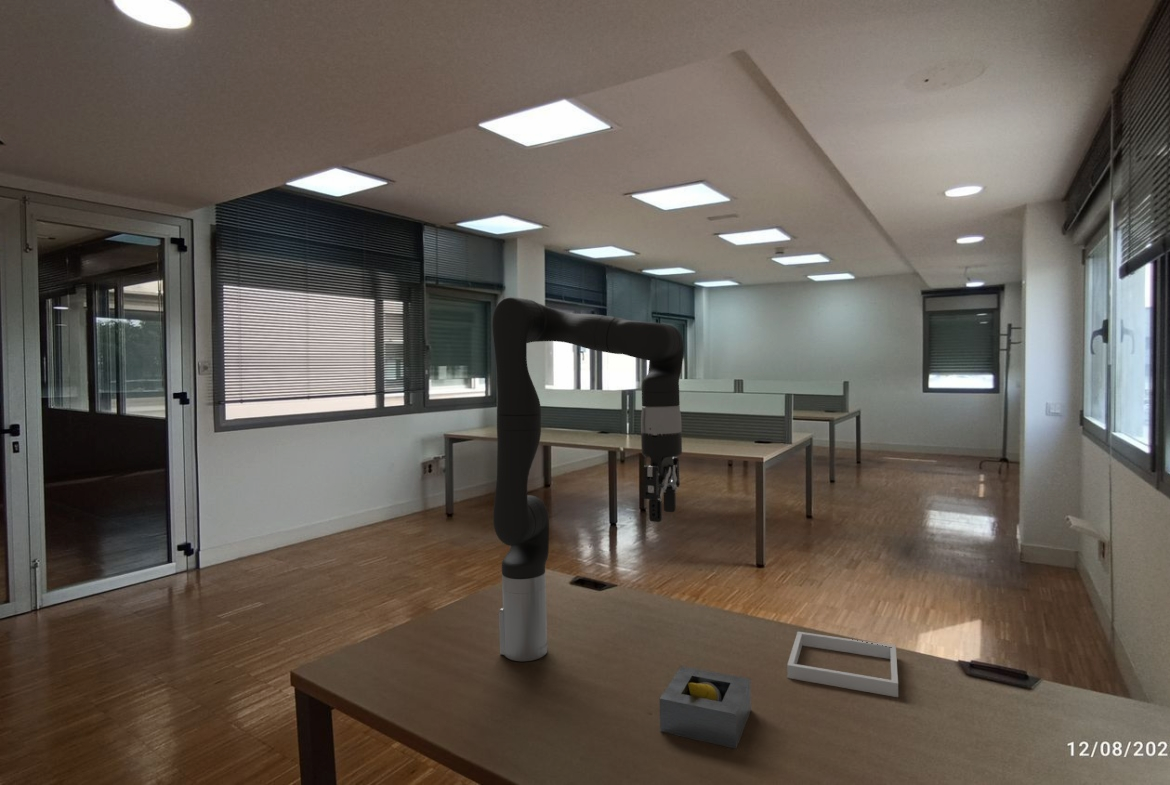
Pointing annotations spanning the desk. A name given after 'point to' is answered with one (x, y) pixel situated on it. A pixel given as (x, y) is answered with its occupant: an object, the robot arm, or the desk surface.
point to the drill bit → (704, 691)
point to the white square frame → (843, 678)
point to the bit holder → (706, 708)
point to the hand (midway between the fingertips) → (663, 516)
